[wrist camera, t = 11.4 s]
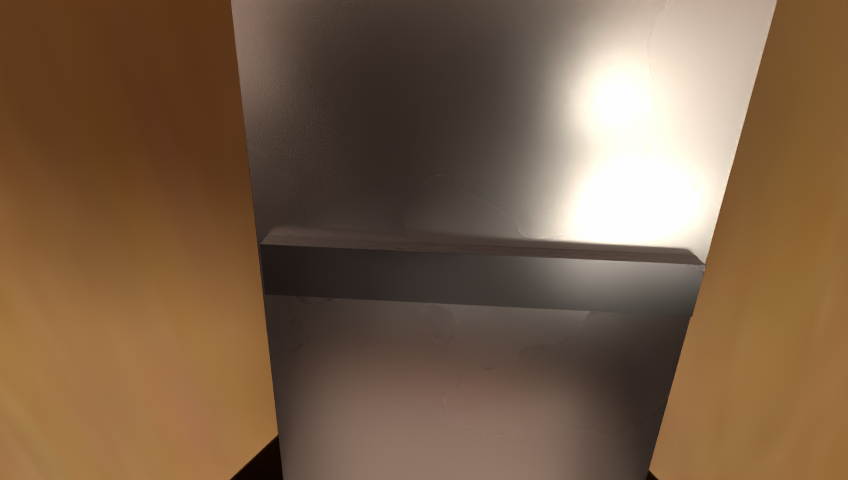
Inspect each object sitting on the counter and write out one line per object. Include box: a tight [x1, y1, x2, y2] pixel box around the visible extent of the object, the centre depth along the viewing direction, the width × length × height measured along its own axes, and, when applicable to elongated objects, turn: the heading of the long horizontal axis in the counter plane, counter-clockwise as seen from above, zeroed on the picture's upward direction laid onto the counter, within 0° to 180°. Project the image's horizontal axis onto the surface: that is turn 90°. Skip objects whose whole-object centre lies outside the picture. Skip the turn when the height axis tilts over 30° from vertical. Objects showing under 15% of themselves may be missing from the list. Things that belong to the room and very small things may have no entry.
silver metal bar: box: [231, 0, 777, 480], centre depth 8 cm, size 4×16×4 cm, turn 178°
